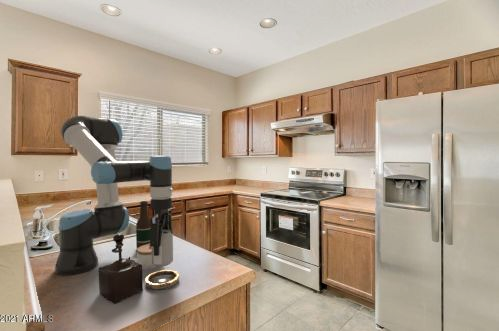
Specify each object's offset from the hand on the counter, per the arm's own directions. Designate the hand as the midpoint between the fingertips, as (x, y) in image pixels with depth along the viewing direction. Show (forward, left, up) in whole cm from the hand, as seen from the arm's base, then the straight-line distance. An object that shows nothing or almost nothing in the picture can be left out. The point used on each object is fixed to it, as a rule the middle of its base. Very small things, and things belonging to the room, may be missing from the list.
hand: (162, 259), depth 97 cm
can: (0, 0, -2) cm, 2 cm away
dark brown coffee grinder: (-13, -6, -9) cm, 17 cm away
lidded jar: (-11, +14, -9) cm, 20 cm away
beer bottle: (-23, +33, -9) cm, 41 cm away
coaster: (0, 0, -9) cm, 9 cm away
